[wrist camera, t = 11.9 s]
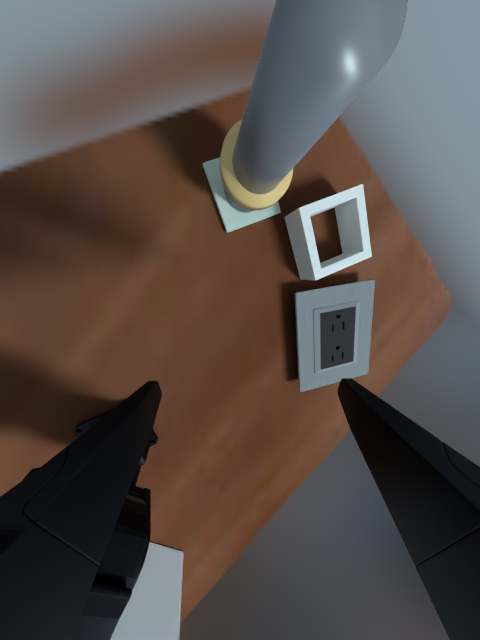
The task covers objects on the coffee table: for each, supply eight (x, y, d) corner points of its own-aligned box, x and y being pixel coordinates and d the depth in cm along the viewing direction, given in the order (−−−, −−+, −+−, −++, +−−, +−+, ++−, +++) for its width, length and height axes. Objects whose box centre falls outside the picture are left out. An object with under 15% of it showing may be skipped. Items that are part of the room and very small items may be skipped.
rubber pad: (226, 232, 19) (227, 232, 18) (202, 165, 17) (203, 162, 16) (278, 213, 19) (280, 212, 19) (261, 146, 18) (263, 143, 17)
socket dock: (300, 279, 22) (315, 280, 19) (284, 217, 20) (298, 207, 17) (349, 258, 23) (371, 256, 20) (339, 196, 20) (362, 184, 18)
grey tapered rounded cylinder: (240, 233, 19) (325, 150, 6) (202, 180, 17) (217, -85, 4) (282, 198, 19) (447, 46, 6) (249, 141, 17) (389, -224, 5)
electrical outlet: (287, 290, 22) (297, 293, 20) (360, 278, 24) (377, 279, 22) (292, 383, 26) (301, 393, 24) (355, 366, 28) (369, 374, 26)
